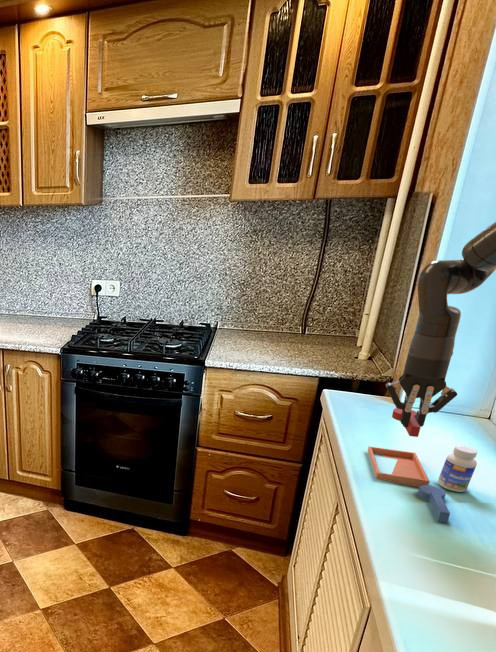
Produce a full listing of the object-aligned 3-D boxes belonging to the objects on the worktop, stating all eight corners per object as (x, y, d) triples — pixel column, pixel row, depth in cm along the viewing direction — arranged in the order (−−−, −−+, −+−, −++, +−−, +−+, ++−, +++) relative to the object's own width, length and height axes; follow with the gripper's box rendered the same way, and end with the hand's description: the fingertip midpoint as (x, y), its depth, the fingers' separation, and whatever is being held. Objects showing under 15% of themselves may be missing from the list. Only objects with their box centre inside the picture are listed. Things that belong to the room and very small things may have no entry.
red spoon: (390, 413, 130) (392, 404, 129) (413, 416, 128) (416, 407, 127) (400, 434, 119) (403, 425, 118) (426, 438, 117) (429, 428, 116)
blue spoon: (415, 490, 121) (417, 481, 121) (440, 494, 119) (443, 485, 119) (428, 519, 110) (431, 510, 109) (456, 525, 108) (459, 515, 107)
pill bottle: (444, 490, 121) (458, 453, 117) (432, 478, 125) (446, 442, 122) (471, 494, 119) (486, 456, 116) (459, 481, 124) (473, 445, 121)
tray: (367, 453, 140) (368, 446, 139) (413, 459, 135) (415, 452, 135) (375, 480, 126) (377, 472, 125) (427, 488, 122) (429, 481, 121)
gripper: (463, 352, 115) (442, 425, 121) (389, 347, 121) (372, 416, 127) (474, 361, 109) (451, 437, 115) (395, 355, 114) (377, 428, 120)
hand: (410, 426), depth 121 cm, fingers closed on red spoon, 1 cm apart
